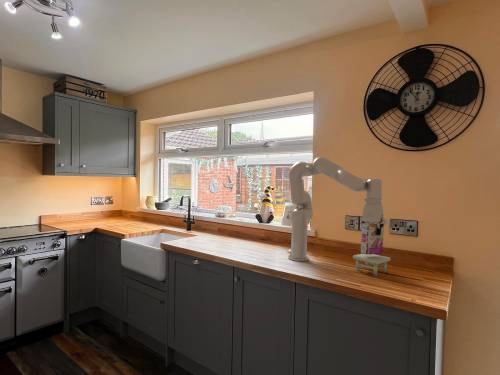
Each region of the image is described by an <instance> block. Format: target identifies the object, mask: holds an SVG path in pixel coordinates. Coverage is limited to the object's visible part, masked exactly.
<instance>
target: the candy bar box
mask: <svg viewBox="0 0 500 375" xmlns="http://www.w3.org/2000/svg"><path fill="white" fill-rule="evenodd" d="M377 228H378V227H377V224H376V223H372V222H369V223H362V222H361V235H360V236H361V238H360V239H361V241H360V254H366V255H369V254H375V255H382V254H383V245H384V243H383V242H384V229H385V225H384V226H383V227H382V228H381V235H380V236H377V235H376V231H377Z"/></svg>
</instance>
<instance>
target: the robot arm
mask: <svg viewBox="0 0 500 375" xmlns="http://www.w3.org/2000/svg"><path fill="white" fill-rule="evenodd" d="M288 172H289V173H288V179H289V180H288V181H289V190H290V201H291V203H292V204H293V205H294V206H297V207H296V208H295V209H293V211H292V212H291V215H290V220H291V239H290V240H291V243H290V244H291V245H290V247H291V248H290V249H288V250H287V251H286V253H287V254H289V255H288V256H287V257H288V259H289V260H292V261H296V262H308V261H309V259H310V258H309V256H308V255H307V254H308V253H307V251H308V249H307V247H308V246H307V245H308V225H307V222H310V221H311V220H312V219H313V216H314V214H313V212H314V211H313V204H312V197H311V195H310V193H309V192H308V191H306V190H305V186H304V181H303V177H311V176H316V175H318V174H323V175H325V176H327V177H329V178H331V179H332V180H334V181H336V182H337V183H340V184H341V185H342V186H344V187H346V188H348V189H349V190H350V191H353V192H356V193H357V192H359V193H361V192H363V193H364V192H366V198H365V199H364V202H365V203H364V204H363V210H362V216H361V217H360V218H359V220H360V222H361V224H362V223H376V224H377V227H378V228H377V231H376V235H377V236H380V235H381V228H382V227H383V226H384V227H385V225H386V224H388V220H387V219H386V218H385V217H384V208H383V207H384V206H383V204H382V192H383V191H382V190H383V180H382V179H380V178H369V179H368V178H367V179H366V178H362V177H361V178H360V177H358V176H356V175H355V174H352V173H351V172H348V171H347V170H345V169H344V167H342V166H341V165H339V164H337V163H335V162H334V161H331V160H330V159H328V158H327V157H323V156H318V157H316V158H315V159H314V160H313V161H312V162H311V161H310V162H306V161H305V162H304V161H299V162H295V163H294V164H293V165H292V166H291V167H290V169H289V171H288Z"/></svg>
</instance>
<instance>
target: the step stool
mask: <svg viewBox="0 0 500 375" xmlns="http://www.w3.org/2000/svg"><path fill="white" fill-rule="evenodd" d="M352 259H353V260H354V259H355V271H356V272H360V268H361V267H362V268H365V267H366V268H365V269H370V270H372V276H375V277H377V276H378V267H382V273H383V272H384V273H385V274H386V272H388V271H387V270H388V262H390V261H391V257H388V256H383V255H380V254H369V255H366V254H363V253H360V254H359V253H358V254H354V255H352ZM361 261H363V262H365V264H364V263H361Z"/></svg>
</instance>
